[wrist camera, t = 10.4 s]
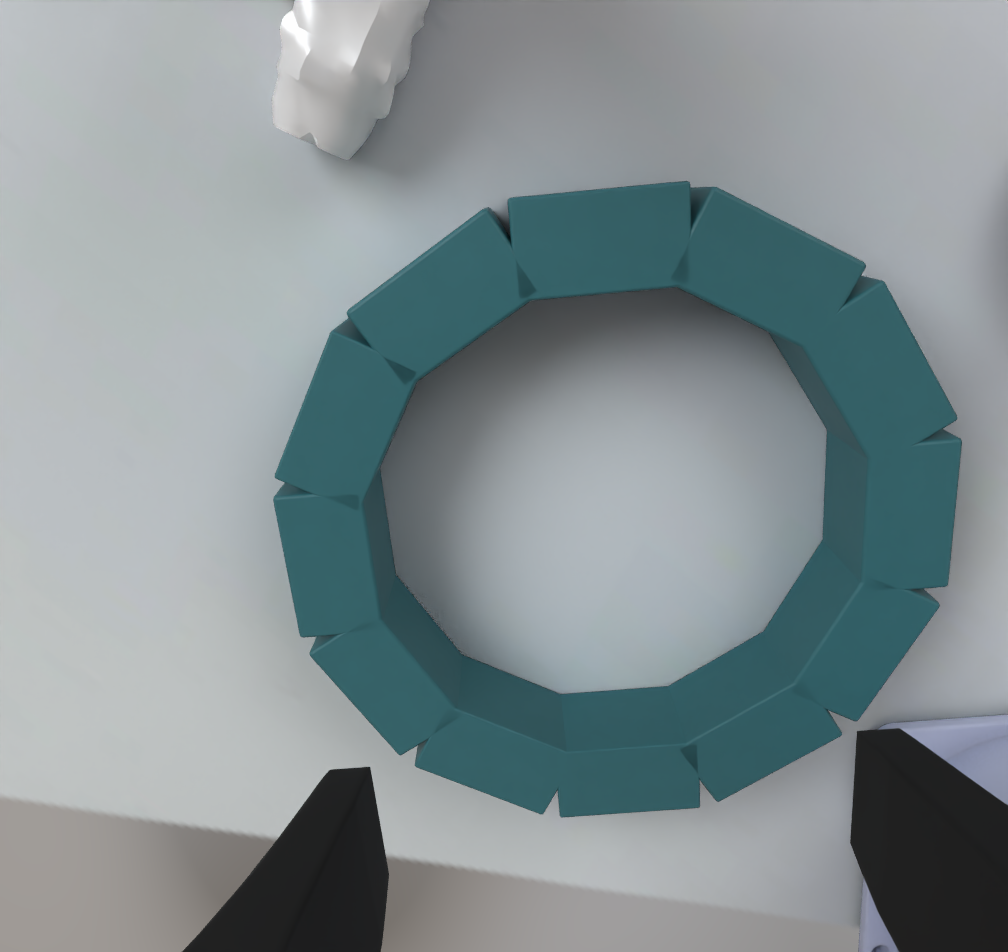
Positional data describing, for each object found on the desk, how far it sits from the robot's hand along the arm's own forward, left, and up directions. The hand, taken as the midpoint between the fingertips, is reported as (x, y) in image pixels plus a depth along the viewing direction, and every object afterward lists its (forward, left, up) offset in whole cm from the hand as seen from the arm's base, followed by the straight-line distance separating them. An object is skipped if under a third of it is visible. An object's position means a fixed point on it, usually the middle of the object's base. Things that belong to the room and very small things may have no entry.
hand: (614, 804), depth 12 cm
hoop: (+1, -1, -9) cm, 10 cm away
